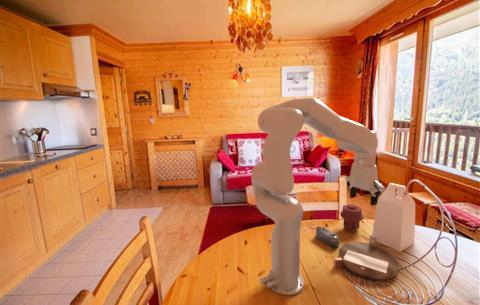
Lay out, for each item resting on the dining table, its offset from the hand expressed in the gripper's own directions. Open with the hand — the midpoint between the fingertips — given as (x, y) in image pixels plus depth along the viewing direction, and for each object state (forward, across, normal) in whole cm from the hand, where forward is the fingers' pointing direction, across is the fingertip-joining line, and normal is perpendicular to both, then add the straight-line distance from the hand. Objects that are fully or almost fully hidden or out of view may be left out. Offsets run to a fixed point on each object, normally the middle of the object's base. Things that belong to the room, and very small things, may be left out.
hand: (363, 200), depth 102 cm
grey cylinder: (+20, -9, -10) cm, 25 cm away
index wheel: (+19, +10, -9) cm, 23 cm away
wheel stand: (+20, +9, -14) cm, 26 cm away
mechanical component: (+21, -12, +8) cm, 25 cm away
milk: (+21, +4, +15) cm, 26 cm away
